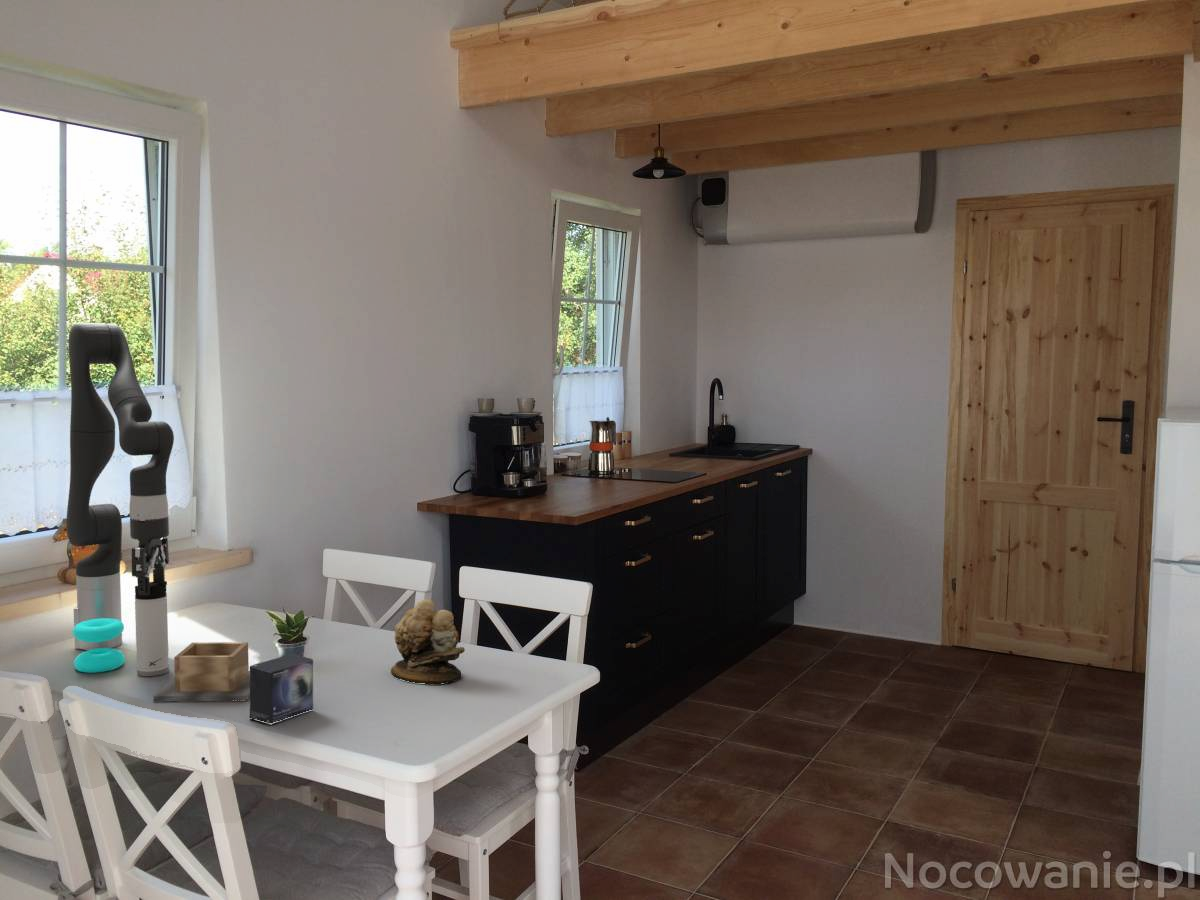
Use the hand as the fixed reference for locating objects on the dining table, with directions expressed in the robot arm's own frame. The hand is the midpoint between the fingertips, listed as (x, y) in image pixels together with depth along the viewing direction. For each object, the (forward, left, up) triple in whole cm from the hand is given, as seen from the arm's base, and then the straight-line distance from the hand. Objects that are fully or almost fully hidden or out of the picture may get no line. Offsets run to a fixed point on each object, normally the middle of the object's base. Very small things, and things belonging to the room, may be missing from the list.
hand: (151, 590), depth 217 cm
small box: (+34, -27, -18) cm, 47 cm away
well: (+16, -11, -18) cm, 26 cm away
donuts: (-13, +4, -18) cm, 23 cm away
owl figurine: (+59, -3, -18) cm, 62 cm away
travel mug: (0, 0, -18) cm, 18 cm away
